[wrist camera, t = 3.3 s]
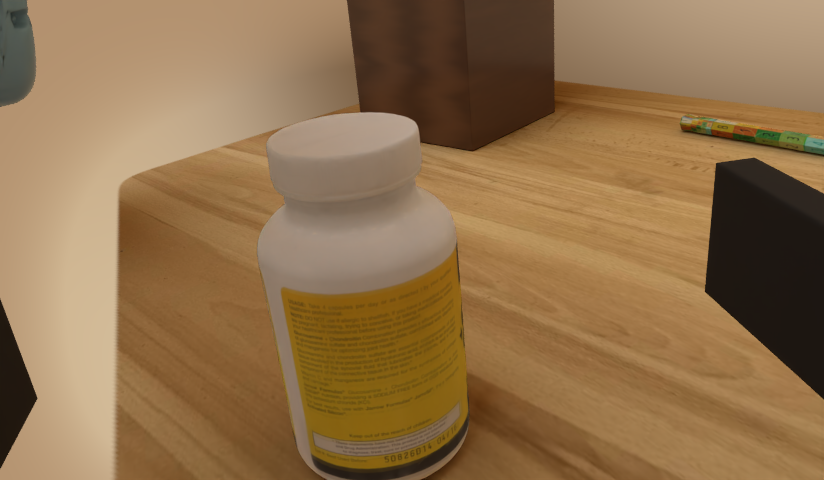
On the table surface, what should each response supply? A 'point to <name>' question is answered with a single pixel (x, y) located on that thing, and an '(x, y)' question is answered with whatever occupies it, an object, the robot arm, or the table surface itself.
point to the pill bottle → (364, 300)
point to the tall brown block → (455, 65)
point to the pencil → (753, 133)
